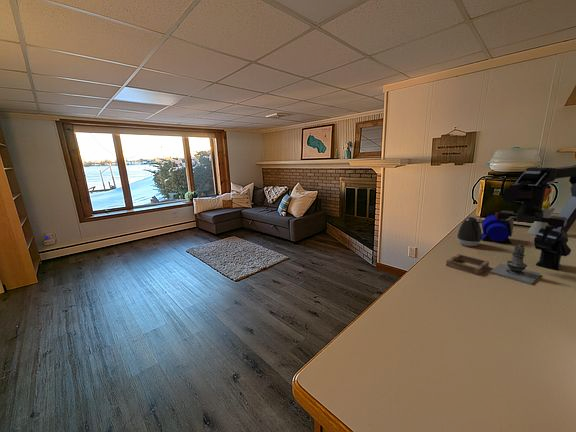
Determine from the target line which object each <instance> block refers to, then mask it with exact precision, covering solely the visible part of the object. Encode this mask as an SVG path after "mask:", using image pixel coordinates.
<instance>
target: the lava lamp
mask: <svg viewBox="0 0 576 432" xmlns="http://www.w3.org/2000/svg"><path fill="white" fill-rule="evenodd" d="M547 184H548V185H554V184H555V180H554V181H552V182H549V183H547ZM551 193H552V187H551V188H548V189H546V192H545V197H544V202H543V207H542V211H543V212H544V215H543V217H545V218H550V217H551V216H552V214H553V213H554V211H555V210H556V209H555V208H554V207H551V205H552V204H551V202H549V201H547V200H548V198H549V196H550V195H551ZM531 224H532V225H531V226H530V227H529V229H528V231H527V233H528V234H531V235H534V236H535V235H537V233H538V232H539V230H540V229H541V228H546V226H547V225H548V223H545V222H537V221H534V222H533V223H531Z"/></svg>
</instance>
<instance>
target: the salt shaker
mask: <svg viewBox="0 0 576 432" xmlns="http://www.w3.org/2000/svg"><path fill="white" fill-rule="evenodd" d="M513 249H514V250H513V252H512V253H511V255H512V259H511V260H507V261H506V265H508V267H509V268H510V269H507V270H506V271H507V272H509V273H511V274H514V275H524V272H522V271H523V270H524V269H526V268H527V267H528V265H527V264H526V263H524V258H525V256H526V255H525V254H524V253H525V247H524V245H522V243H519V244H518V245H515V246H514V248H513Z"/></svg>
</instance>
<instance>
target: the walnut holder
mask: <svg viewBox="0 0 576 432" xmlns="http://www.w3.org/2000/svg"><path fill="white" fill-rule="evenodd" d="M461 262H464V263H465V264H464V263H461ZM466 263H468V264H470V265H467V264H466ZM471 264H472V265H474V266H472V265H471ZM489 265H490V261H487V260H484V259H480V258H477V257H473V256H467V255H465V254H460V253H457V254H455V255H454V256H452V257H450V258H449V259H446V262H445V266H446V267H449V268H451V269H455V270H459V271H462V272H465V273H468V274H471V275H475V276H479V275H480V274H481V273H483V272H484V271H485V270H487V269H488V268H489ZM475 266H476V267H475Z"/></svg>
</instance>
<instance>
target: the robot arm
mask: <svg viewBox="0 0 576 432" xmlns="http://www.w3.org/2000/svg"><path fill="white" fill-rule="evenodd" d="M563 178H569V179H568V182H569V183H570V184H571V186H570V193H571V196H570V197H569V198H568V201H567V202H566V203H565V205H564V206H563V208H561V210H560V212H559V214H558V215H557V216H556V215H550V217H549V218H545V217H543V215H544V212H543V211H542V207H543V202H544V197H545V192H546V189H548V188H551V189H552V186H551V184H547V183H549V182H552V181H554V182H555V180H556V179H563ZM502 196H503V199H504V201H506V202H507V203H519V202H520V203H521V205H520V207H519V209H518V211H517V212H516V213H514V211H513V210H511V211H510V210H501V211H499V213H498V214H497V219H501V220H500V221H503V222H504V223H505V225H506V227H507V230H508V233H509V237H512V235H513V230H514V222H519V223H521V222H522V223H527V224H533V223H534V221H537V222H545V223H546V224H547V226H546V228H541V229H540V230H539V232H538V233H537V235H534V239H533V243H534V248H535V250H539V251H540V256H539V260H538V261H537V262H536V263H535V265H536V266H537V267H538V266H539V267H542V268H548V269H551V270H556V271H559V270H560V269H561V268H562V266H563V264H560V263H561V259H562V257H567V256H569V255H570V254H571V252H572V249H571V248H570V246H568V244H567V243H568V242H569V236H568V231H570V229H571V227H572V226H573V225H574V223H575V221H576V164H573V165H569V166H568V165H567V166H558V167H539V166H538V167H537V166H536V167H534V166H532V167H531V166H530V167H527V168H526V169H525V170H524V172H522V174H521V175H520V176H519V178H518V179H517V180H516V181H515V183H513V184H510V185H509V187H507V188H506V189H505V190H504V191H503V193H502Z"/></svg>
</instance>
